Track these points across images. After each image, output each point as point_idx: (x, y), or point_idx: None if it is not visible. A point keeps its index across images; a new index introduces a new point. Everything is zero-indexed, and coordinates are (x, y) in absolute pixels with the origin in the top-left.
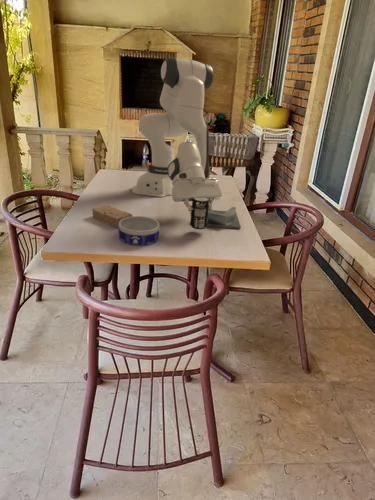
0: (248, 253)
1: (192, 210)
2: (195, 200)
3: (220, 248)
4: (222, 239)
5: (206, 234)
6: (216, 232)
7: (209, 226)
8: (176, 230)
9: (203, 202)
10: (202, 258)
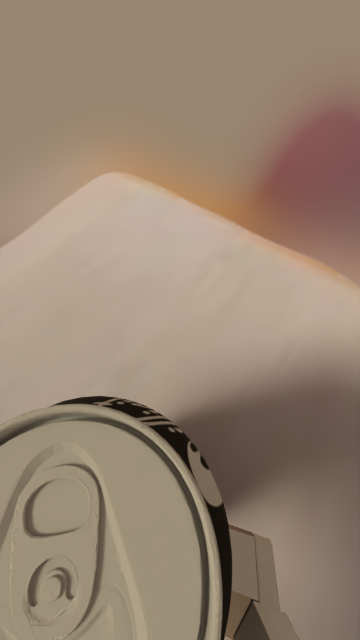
0: (113, 212)
1: None
2: (215, 568)
3: (174, 279)
4: (97, 339)
5: None
6: None
7: None
8: None
9: (126, 413)
10: (290, 252)
